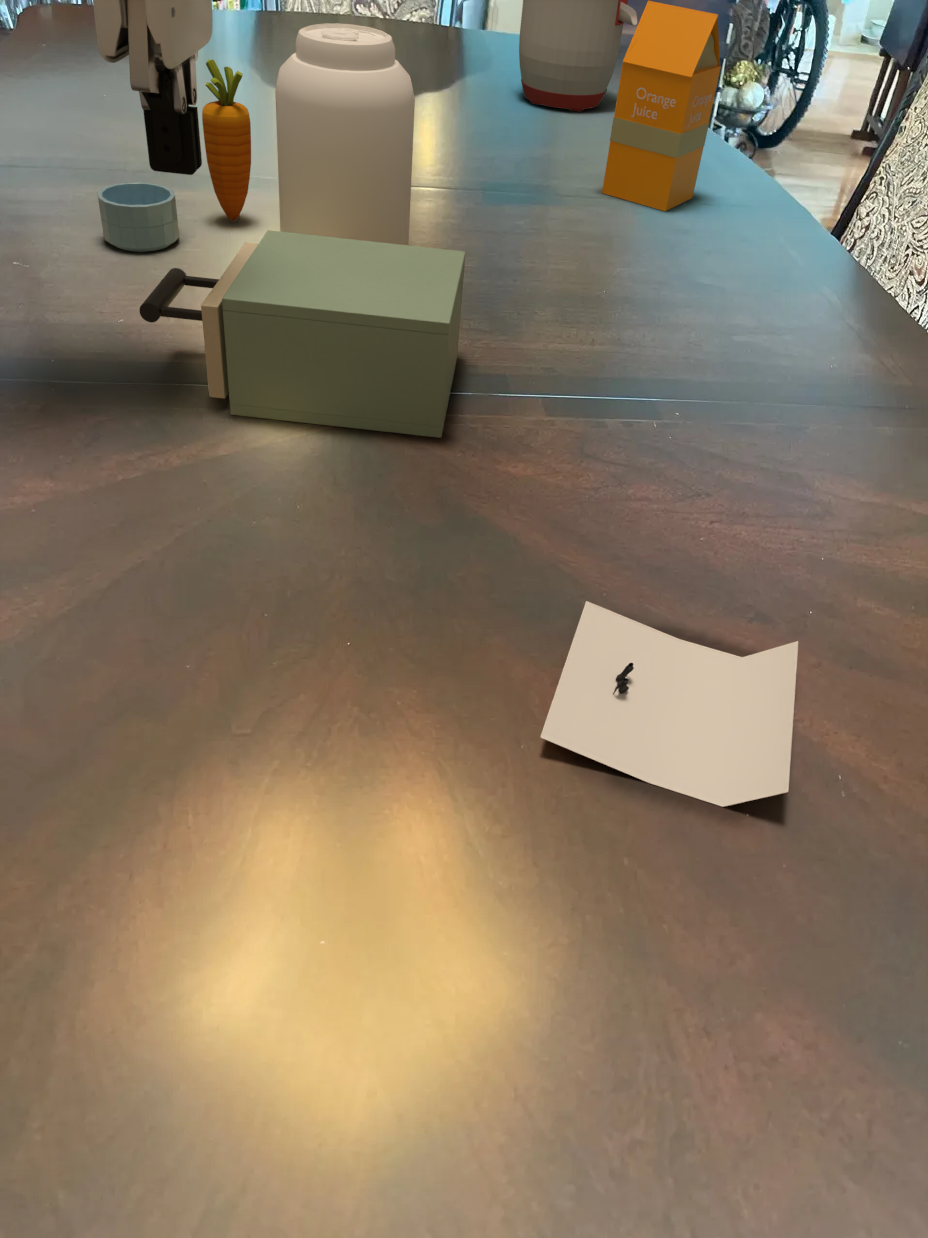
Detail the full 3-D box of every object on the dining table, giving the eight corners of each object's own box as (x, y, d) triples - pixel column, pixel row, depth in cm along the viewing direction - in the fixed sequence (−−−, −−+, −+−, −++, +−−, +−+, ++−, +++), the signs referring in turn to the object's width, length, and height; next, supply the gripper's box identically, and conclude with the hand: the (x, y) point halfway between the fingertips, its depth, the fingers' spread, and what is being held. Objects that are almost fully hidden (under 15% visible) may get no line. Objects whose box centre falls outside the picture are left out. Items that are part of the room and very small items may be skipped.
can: (376, 293, 95) (382, 53, 82) (257, 266, 98) (245, 29, 85) (426, 251, 104) (439, 29, 91) (316, 227, 107) (313, 9, 94)
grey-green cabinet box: (230, 414, 76) (221, 297, 70) (272, 336, 86) (267, 229, 80) (441, 438, 75) (449, 322, 70) (457, 356, 86) (465, 251, 80)
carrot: (265, 225, 106) (257, 66, 96) (220, 232, 104) (208, 69, 94) (244, 210, 109) (235, 54, 99) (201, 216, 107) (187, 56, 97)
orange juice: (630, 179, 129) (662, -3, 116) (693, 197, 125) (734, 11, 112) (600, 192, 123) (630, 3, 111) (665, 211, 120) (704, 18, 107)
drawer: (135, 388, 75) (122, 296, 71) (184, 319, 85) (175, 234, 81) (404, 418, 75) (408, 327, 71) (423, 345, 85) (427, 261, 80)
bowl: (93, 249, 98) (86, 201, 95) (118, 224, 103) (112, 178, 100) (166, 257, 97) (161, 209, 95) (188, 232, 103) (183, 186, 100)
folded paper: (583, 615, 61) (588, 589, 59) (788, 666, 59) (798, 640, 57) (536, 755, 52) (541, 728, 50) (776, 821, 50) (788, 795, 48)
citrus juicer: (611, 123, 149) (636, -37, 136) (498, 104, 153) (513, -55, 140) (632, 101, 161) (657, -49, 148) (527, 83, 164) (543, -65, 151)
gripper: (124, -171, 65) (157, 135, 77) (28, -160, 54) (84, 197, 66) (239, -159, 65) (255, 145, 77) (168, -146, 54) (199, 209, 65)
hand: (176, 168), depth 71 cm, fingers closed
